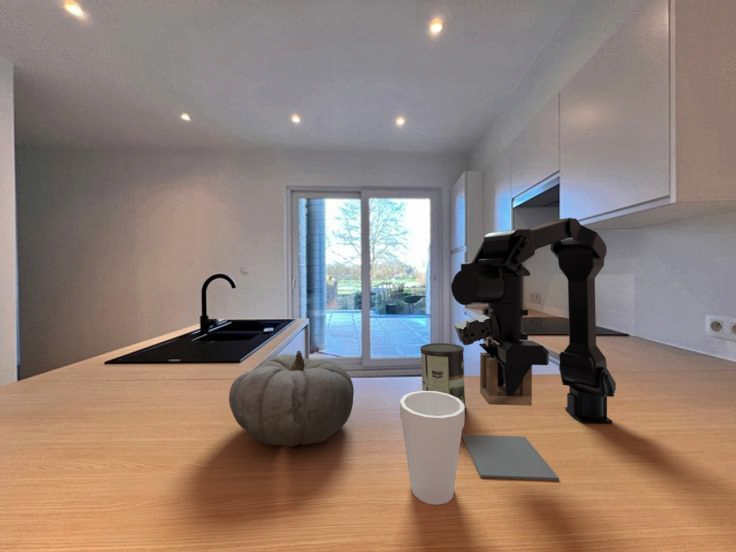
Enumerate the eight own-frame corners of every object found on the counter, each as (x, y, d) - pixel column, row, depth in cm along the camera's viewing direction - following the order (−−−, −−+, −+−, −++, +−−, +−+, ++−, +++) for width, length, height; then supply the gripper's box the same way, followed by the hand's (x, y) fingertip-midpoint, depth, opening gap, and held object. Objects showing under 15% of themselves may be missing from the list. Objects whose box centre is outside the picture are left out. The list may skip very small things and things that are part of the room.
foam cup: (396, 470, 50) (395, 391, 50) (450, 466, 51) (450, 389, 51) (408, 516, 41) (408, 419, 41) (475, 511, 42) (475, 416, 41)
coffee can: (459, 396, 79) (457, 342, 80) (471, 414, 69) (469, 351, 69) (419, 397, 80) (417, 343, 80) (425, 414, 69) (423, 352, 70)
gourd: (208, 467, 47) (224, 352, 50) (233, 420, 71) (243, 343, 74) (365, 459, 53) (370, 356, 56) (340, 418, 77) (345, 347, 80)
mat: (524, 438, 60) (524, 436, 60) (558, 480, 48) (558, 477, 48) (462, 436, 60) (462, 434, 60) (480, 477, 48) (480, 474, 48)
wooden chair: (488, 404, 52) (489, 360, 52) (480, 392, 57) (480, 352, 57) (531, 405, 51) (531, 361, 51) (519, 393, 56) (519, 353, 56)
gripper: (448, 297, 64) (448, 372, 64) (472, 308, 45) (472, 413, 45) (503, 297, 63) (503, 373, 63) (551, 308, 44) (550, 415, 44)
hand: (504, 390), depth 54 cm, fingers closed on wooden chair, 4 cm apart
